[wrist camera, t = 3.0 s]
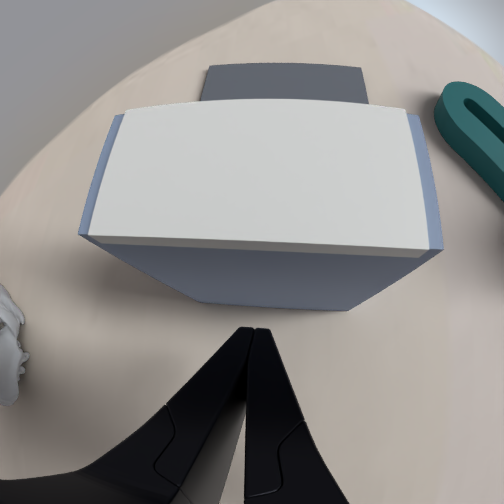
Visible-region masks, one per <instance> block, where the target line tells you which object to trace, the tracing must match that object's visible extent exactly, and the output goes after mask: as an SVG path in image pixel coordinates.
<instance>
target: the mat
mask: <svg viewBox="0 0 504 504" xmlns="http://www.w3.org/2000/svg"><path fill="white" fill-rule="evenodd" d="M233 99H303V100H324V101H338V102H350V103H360V104H369V103H368V98H367V93H366V88H365V83H364V78H363V74H362V70H361V68H359V67H349V66H339V65H325V64H306V63H246V64H227V65H213V66H209V70H208V73H207V77H206V81H205V85H204V88H203V92H202V96H201V100H200V101H213V100H233Z"/></svg>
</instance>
